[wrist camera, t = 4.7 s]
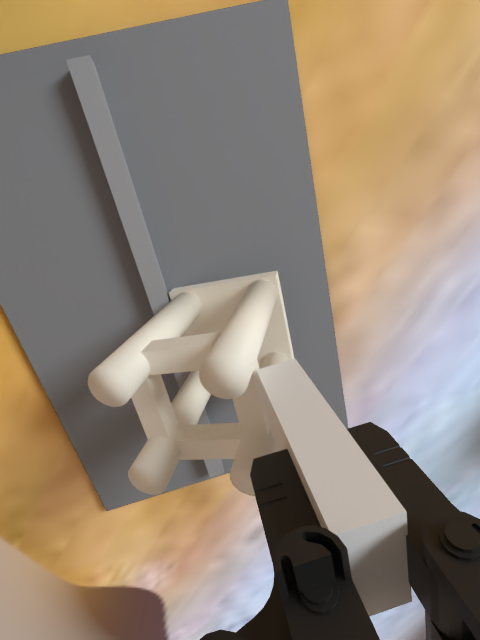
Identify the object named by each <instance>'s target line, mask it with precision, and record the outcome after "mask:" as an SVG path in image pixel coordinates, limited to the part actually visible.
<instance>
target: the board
mask: <svg viewBox="0 0 480 640" xmlns="http://www.w3.org/2000/svg"><path fill="white" fill-rule="evenodd" d="M272 271H278V276H279V281H280V286H281V291H282V297H283V302H284V307H285V312H286V317H287V323H288V328H289V333H290V338H291V343H292V349H293V354H294V359H296V360H297V361H298V363H299V364H300V366H301V367H302V368H303V370H304V371H305V372H306V374H307V375H308V377H309V378H310V379H311V381H312V382H313V384H314V385H315V386H316V388H317V389H318V390H319V392H320V393H321V395H322V396H323V397H324V399H325V400H326V401H327V403H328V404H329V406H330V407H331V408H332V410H333V411H334V412H335V414H336V415H337V417H338V418H339V419H340V421H341V422H342V423H343V425H344V426H345V428H346V429H348V423H347V416H346V409H345V402H344V395H343V388H342V381H341V374H340V367H339V360H338V353H337V346H336V338H335V331H334V324H333V317H332V310H331V303H330V296H329V289H328V282H327V275H326V268H325V261H324V254H323V246H322V239H321V232H320V225H319V218H318V211H317V204H316V197H315V190H314V183H313V176H312V169H311V162H310V154H309V147H308V140H307V133H306V126H305V119H304V112H303V105H302V98H301V91H300V84H299V77H298V70H297V62H296V55H295V48H294V41H293V34H292V27H291V20H290V13H289V6H288V0H262V1H257V2H252V3H248V4H243V5H238V6H233V7H228V8H223V9H219V10H214V11H209V12H204V13H199V14H194V15H190V16H185V17H180V18H175V19H170V20H165V21H161V22H156V23H151V24H146V25H141V26H136V27H132V28H127V29H122V30H117V31H112V32H107V33H103V34H98V35H93V36H88V37H83V38H78V39H73V40H69V41H64V42H59V43H54V44H49V45H44V46H40V47H35V48H30V49H25V50H20V51H15V52H11V53H6V54H1V55H0V304H1V306H2V308H3V310H4V312H5V314H6V316H7V318H8V320H9V322H10V324H11V326H12V328H13V330H14V332H15V334H16V335H17V337H18V339H19V341H20V343H21V345H22V347H23V349H24V351H25V353H26V355H27V357H28V359H29V361H30V363H31V365H32V367H33V369H34V371H35V372H36V374H37V376H38V378H39V380H40V382H41V384H42V386H43V388H44V390H45V392H46V394H47V396H48V398H49V400H50V402H51V404H52V406H53V408H54V409H55V411H56V413H57V415H58V417H59V419H60V421H61V423H62V425H63V427H64V429H65V431H66V433H67V435H68V437H69V439H70V441H71V443H72V445H73V446H74V448H75V450H76V452H77V454H78V456H79V458H80V460H81V462H82V464H83V466H84V468H85V470H86V472H87V474H88V476H89V478H90V480H91V482H92V483H93V485H94V487H95V489H96V491H97V493H98V495H99V497H100V499H101V501H102V503H103V505H104V507H105V509H106V511H109V510H112V509H115V508H118V507H121V506H125V505H128V504H131V503H134V502H137V501H140V500H144V499H147V498H150V497H153V496H156V495H151V494H146V493H143V492H141V491H140V490H138V489H137V488H135V487H134V486H133V485H132V483H131V482H130V480H129V477H128V471H129V469H130V467H131V466H132V464H133V462H134V461H135V459H136V458H137V456H138V455H139V453H140V451H141V450H142V448H143V447H144V445H145V443H146V442H147V440H148V439H147V436H146V434H145V431H144V429H143V426H142V424H141V421H140V419H139V416H138V413H137V411H136V408H135V406H134V403H133V401H132V398H130V399H129V401H128V402H127V403H126V404H124V405H123V406H120V407H111V406H108V405H105V404H103V403H101V402H100V401H98V400H97V399H96V398H95V397H94V396H93V394H92V393H91V391H90V389H89V387H88V377H89V374H90V373H91V372H92V371H93V370H94V369H95V368H96V367H97V366H98V365H100V364H101V363H102V362H103V361H104V360H105V359H106V358H107V357H109V356H110V355H111V354H112V353H113V352H114V351H115V350H116V349H118V348H119V347H120V346H121V345H122V344H123V343H124V342H125V341H126V340H128V339H129V338H130V337H131V336H132V335H133V334H134V333H135V332H137V331H138V330H139V329H140V328H141V327H142V326H143V325H144V324H146V323H147V322H148V321H149V320H150V319H151V318H152V317H153V316H155V315H156V314H157V313H158V312H159V311H160V310H161V309H162V308H164V307H165V306H166V305H167V304H168V303H169V302H170V301H171V299H170V296H169V292H170V291H171V290H172V289H174V288H178V287H184V286H190V285H195V284H201V283H207V282H213V281H219V280H225V279H231V278H237V277H243V276H249V275H254V274H260V273H266V272H272ZM181 337H182V336H181ZM190 373H191V371H189V372H179V373H168V374H161V376H162V379H163V382H164V385H165V388H166V390H167V393H168V396H169V399H170V402H172V401H173V399H174V398H175V396H176V395H177V393H178V391H179V390H180V388H181V387H182V385H183V384H184V382H185V380H186V379H187V377H188V376H189V374H190ZM221 423H239V420H238V417H237V413H236V410H235V406H234V402H233V399H222V398H218V397H216V396H213V395H212V394H211V396H210V398H209V400H208V402H207V404H206V406H205V408H204V410H203V412H202V414H201V417H200V419H199V421H198V423H197V425H200V424H221ZM233 461H234V459H206V460H179V462H178V464H177V466H176V468H175V471H174V473H173V475H172V477H171V479H170V481H169V483H168V485H167V487H166V489H165V491H164V492H162V493H160V494H163V493H166V492H169V491H172V490H175V489H179V488H182V487H185V486H188V485H191V484H194V483H198V482H201V481H204V480H207V479H210V478H213V477H217V476H220V475H223V474H226V473H229V472H230V471H231V468H232V465H233ZM160 494H157V495H160Z"/></svg>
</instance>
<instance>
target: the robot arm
mask: <svg viewBox="0 0 480 640" xmlns="http://www.w3.org/2000/svg"><path fill="white" fill-rule="evenodd" d="M256 371H257V376H258V380H259V384H260V389H261V393H262V397H263V401H264V406H265V410H266V414H267V419H268V423H269V427H270V431H271V434H272V436H273V439H274V441H275V444H276V446H277V449H278V452H274V453H271V454H268V455H264V456H261V457H258V458H255V459H253V463H252V468H251V472H250V477H251V481H252V485H253V489H254V493H255V497H256V500H257V504H258V508H259V512H260V516H261V520H262V523H263V527H264V531H265V535H266V539H267V543H268V547H269V550H270V554H271V558H272V562H273V567H274V585H273V589H272V592H271V595H270V598H269V599H268V601H267V603H266V604H265V606H264V608H263V609H262V610H261V611H260V612H259V613H258V614H257V615H256V616H255V617H254V618H253V619H252V620H250V621H249V622H248V623H247V624H246V625H244V626H243V627H242V628H241V629H240V630H238V631H237V632H236V633H235V632H230V631H225V630H218V631H215V632H211V633H208V634H206V635H205V636H203V637H202V638H201V639H200V640H380V639H379V637H378V635H377V633H376V630H375V628H374V626H373V624H372V622H371V620H370V617H369V616H372V615H375V614H377V613H380V612H383V611H386V610H389V609H392V608H394V607H397V606H400V605H403V604H406V603H409V602H411V601H412V596H411V587H412V588H413V590H414V592H415V593H416V595H417V597H418V598H419V600H420V602H421V603H422V605H423V607H424V608H425V619H426V640H480V519H478V518H476V517H474V516H472V515H470V514H467V513H465V512H460V511H459V510H458V509H457V508H456V507H455V506H454V505H453V504H451V502H450V501H449V500H448V499H447V498H446V497H445V496H444V495H443V493H442V492H441V491H440V490H439V489H438V488H437V487H436V486H435V484H434V483H433V482H432V481H431V480H430V479H429V478H428V477H427V475H426V474H425V473H424V472H423V471H422V470H421V469H420V468H419V467H418V465H417V464H416V463H415V462H414V461H413V460H412V459H410V457H409V455H408V454H407V453H406V452H405V451H404V450H403V449H402V447H401V448H400V446H399V444H398V443H397V442H396V441H395V440H394V438H393V437H392V436H391V435H390V434H389V433H388V432H387V431H386V430H384V429H382V428H380V427H378V426H377V425H375V424H373V423H371V422H369V423H365V424H362V425H359V426H356V427H352V428H349V429H346V428H345V426H344V425H343V423H342V422H341V421H340V419H339V418H338V417H337V415H336V414H335V412H334V411H333V410H332V408H331V407H330V406H329V404H328V403H327V401H326V400H325V399H324V397H323V396H322V395H321V393H320V392H319V390H318V389H317V388H316V386H315V385H314V384H313V382H312V381H311V379H310V378H309V377H308V375H307V374H306V372H305V371H304V370H303V368H302V367H301V366H300V364H299V363H298V361H297V360H296V359H292V360H289V361H285V362H282V363H278V364H275V365H271V366H268V367H264V368H261V369H257V370H256Z"/></svg>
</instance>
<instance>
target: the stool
mask: <svg viewBox="0 0 480 640" xmlns="http://www.w3.org/2000/svg"><path fill="white" fill-rule="evenodd" d="M169 296H170V299H171V301H170V302H169V303H168V304H167V305H166V306H165V307H164V308H162V309H161V310H160V311H159V312H158V313H157V314H156V315H155V316H153V317H152V318H151V319H150V320H149V321H148V322H147V323H146V324H144V325H143V326H142V327H141V328H140V329H139V330H138V331H137V332H135V333H134V334H133V335H132V336H131V337H130V338H129V339H128V340H126V341H125V342H124V343H123V344H122V345H121V346H120V347H119V348H118V349H116V350H115V351H114V352H113V353H112V354H111V355H110V356H109V357H107V358H106V359H105V360H104V361H103V362H102V363H101V364H100V365H98V366H97V367H96V368H95V369H94V370H93V371H92V372H91V373H90V374H89V377H88V387H89V389H90V391H91V393H92V394H93V396H94V397H95V398H96V399H97V400H98V401H100V402H101V403H103V404H105V405H108V406H111V407H120V406H123V405H124V404H126V403H127V402H128V401H129V399H130V398H132V401H133V403H134V406H135V408H136V411H137V413H138V416H139V419H140V421H141V424H142V426H143V429H144V431H145V434H146V436H147V439H148V440H147V442H146V443H145V445H144V447H143V448H142V450H141V451H140V453H139V455H138V456H137V458H136V459H135V461H134V462H133V464H132V466H131V467H130V469H129V471H128V477H129V480H130V482H131V483H132V485H133V486H134V487H135V488H137V489H138V490H140V491H141V492H143V493H146V494H151V495H157V494H160V493H162V492H164V491H165V489H166V487H167V485H168V483H169V481H170V479H171V477H172V475H173V473H174V471H175V468H176V466H177V464H178V462H179V460H206V459H234V461H233V465H232V468H231V471H230V480H231V482H232V484H233V485H234V486H235V487H236V488H237V489H238V490H239V491H241V492H243V493H245V494H248V495H252V496H255V493H254V489H253V485H252V481H251V477H250V472H251V468H252V463H253V459H255V458H258V457H261V456H264V455H268V454H271V453H274V452H278V449H277V446H276V444H275V441H274V439H273V436H272V434H271V431H270V427H269V423H268V419H267V414H266V410H265V406H264V401H263V397H262V393H261V389H260V384H259V380H258V376H257V371H256V370H257V369H261V368H264V367H268V366H271V365H275V364H278V363H282V362H285V361H289V360H292V359H294V354H293V349H292V343H291V338H290V333H289V328H288V323H287V317H286V312H285V307H284V302H283V297H282V291H281V286H280V281H279V276H278V271H272V272H266V273H260V274H254V275H249V276H243V277H237V278H231V279H225V280H219V281H213V282H207V283H201V284H195V285H190V286H184V287H178V288H174V289H172V290H171V291H170V292H169ZM181 336H182V337H181ZM189 371H191V373H190V374H189V376H188V377H187V379H186V380H185V382H184V384H183V385H182V387H181V388H180V390H179V391H178V393H177V395H176V396H175V398H174V399H173V401H172V402H170V399H169V396H168V393H167V390H166V388H165V385H164V382H163V379H162V376H161V374H168V373H179V372H189ZM211 394H212V395H213V396H216V397H218V398H222V399H233V402H234V406H235V410H236V413H237V417H238V420H239V423H221V424H200V425H197V423H198V421H199V419H200V417H201V414H202V412H203V410H204V408H205V406H206V404H207V402H208V400H209V398H210V396H211Z"/></svg>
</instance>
